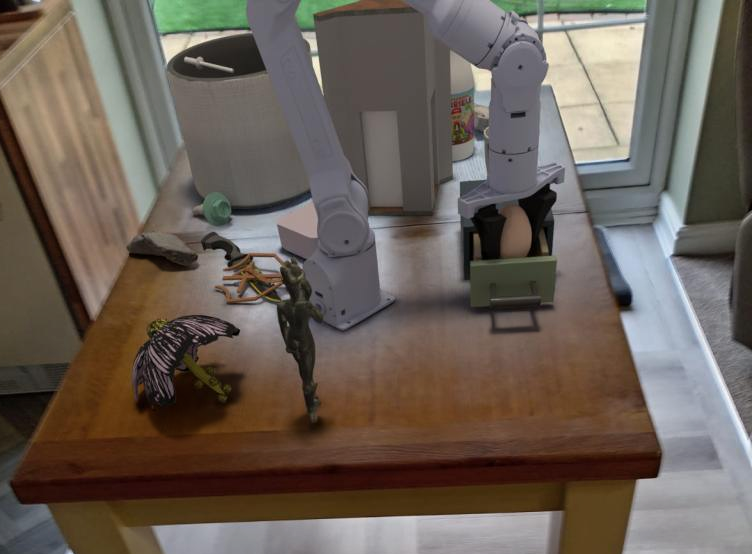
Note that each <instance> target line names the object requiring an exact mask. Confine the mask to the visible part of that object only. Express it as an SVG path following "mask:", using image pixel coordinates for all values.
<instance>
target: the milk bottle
mask: <svg viewBox="0 0 752 554" xmlns="http://www.w3.org/2000/svg"><path fill="white" fill-rule="evenodd" d="M450 74H451V118H452V161H453V162H459V161H462V160H466V159H468V158H469V157H471V156H472V155H473V153H474V151H475V130H474V103H475V84H474V83H475V81H474V73H473V70H472V67H471V63H470V62H468V61H467V60H465V59H464V58H462V57H461V56H459V55H458V54H456V53H455V52H453V51H452V50H451V49H450Z"/></svg>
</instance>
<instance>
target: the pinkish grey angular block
mask: <svg viewBox="0 0 752 554" xmlns="http://www.w3.org/2000/svg"><path fill="white" fill-rule="evenodd" d="M317 222H318V217H317V213H316V210H315V207H314V204H313V201H311V202H309V203H307V204H305V205H303V206H301V207H299V208H297V209H295V210H293V211H291V212H289V213H287V214H285V215H282V216H281V217H279V218H278V219H277V220H276V227H277V231H278V236H279V240H280V241H279V242H280V245H281V247H282V248H283V250H285V251H287V252H290V253H292V254H294V255H296V256H299V257H301V258H303V259H304V260H307V259H308V258H310V257H311V256H312V255H313V254H314V252H315V251H316V249H317V247H318V236H317Z"/></svg>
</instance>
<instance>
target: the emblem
mask: <svg viewBox="0 0 752 554" xmlns="http://www.w3.org/2000/svg"><path fill="white" fill-rule="evenodd" d="M247 254H248V255H247V256H246V257H245V258H244V259H243V260H242V261H241V262H239V263H238V264H236V265H234V266H232V267H225V268H222V271H223V272H230V271H234V270H236V268H238V267H240V266H242V265H243V264H245V263H246V262H247V261H248V260H249V259H250V257H253V258H274V259H275V260H276V261H277V262H278V264H280V266H283V262H284V261H283V259H281V258H280V257H279V256H278V255H277V254H276V253H274V252H273V253H269V252H268V253H267V252H248V253H247ZM254 265H256V264H255V261H252V262H250V264H249V266H248V268H247V267H245V268H243V269H241V270H239V271H238V270H236V271H235V273H232V274H231V275H223V276H222V277H221V280H222V281H240V283H239V285H238V287H237V289H236V294H242V292H243V290H244V288H245V286H246V284H247V282H248V280H251V279H260V281H263V282H265V283H271V284H275V285H274V286H272V287H271V288H269V289H267V290H266V291H264V292H262V293H261V294H260V293H259V294H257V295H255V296H248V297H240V298H239V297H237V298H232V295H231V292H230V291H229V289H228V288H227V287H226V286H223V285H220V284H219V285H214V288H215V289H217V290H221V291H222V292H224V293H225V294H226V300H225V302H226V304H235V303H247V302H257V301H258V300H260V299H261V298H263V297H264V296H265V295H266V294H268V293H270V292H271V291H273V290H275V289H276V290H277V289H278V288H281V286H284V284H283V282H282V281H281V276H282V275H281V273H270V274H269V273H265V274H263V273H262V275H260V274H258V273H257V272H256V271H255V270H254V269H253V266H254ZM244 271H246V272H245V274H244V275H243V274H242V273H241V272H244ZM250 273H252V274H253V275H250ZM239 274H240V275H239Z"/></svg>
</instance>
